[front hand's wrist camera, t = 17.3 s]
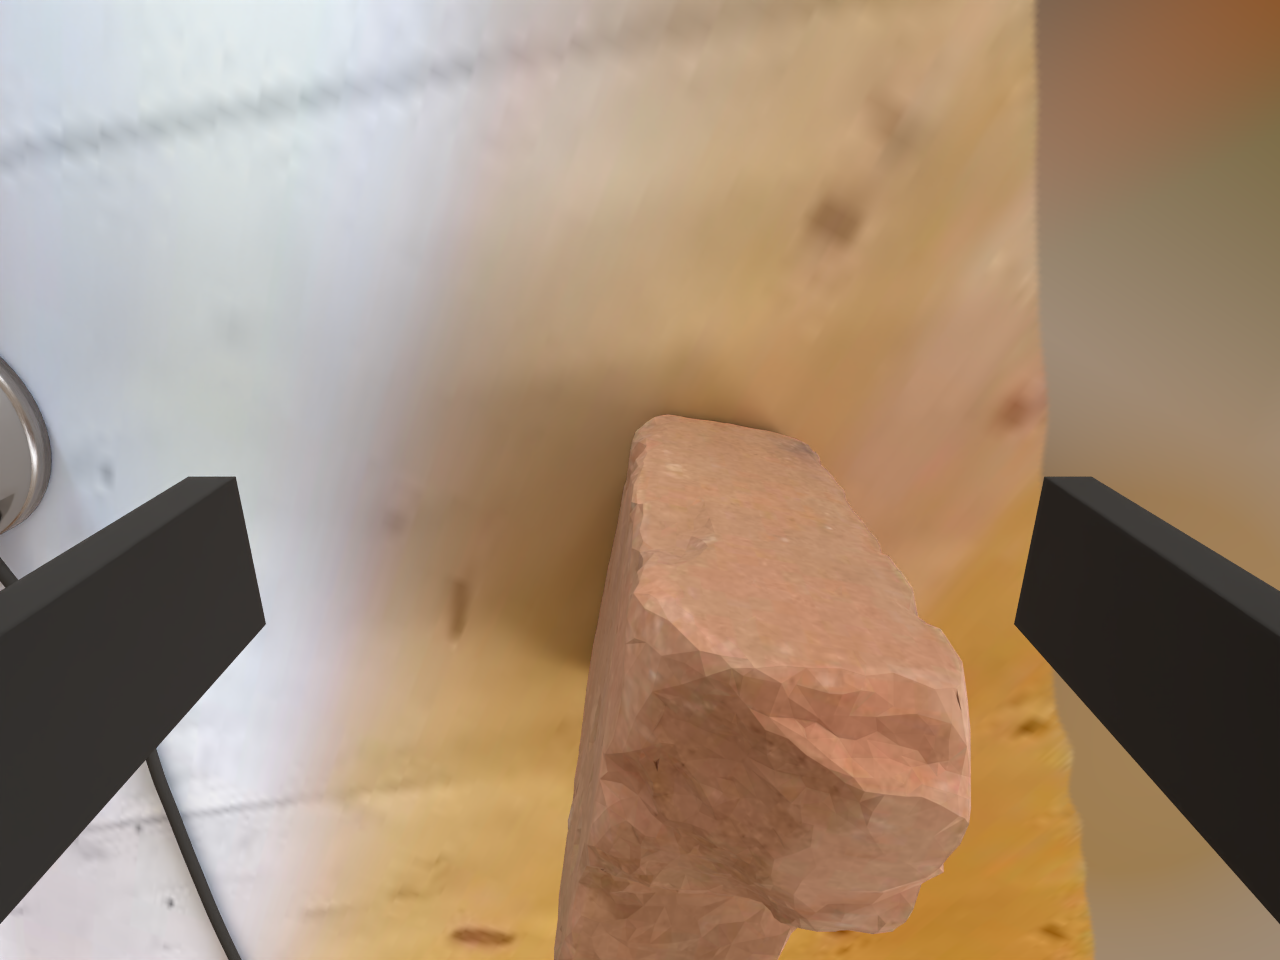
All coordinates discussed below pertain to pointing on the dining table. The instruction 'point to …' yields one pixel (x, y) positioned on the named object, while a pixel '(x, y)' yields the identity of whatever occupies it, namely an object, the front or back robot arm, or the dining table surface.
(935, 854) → the stone
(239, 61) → the dining table surface
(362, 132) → the dining table surface
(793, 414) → the dining table surface
